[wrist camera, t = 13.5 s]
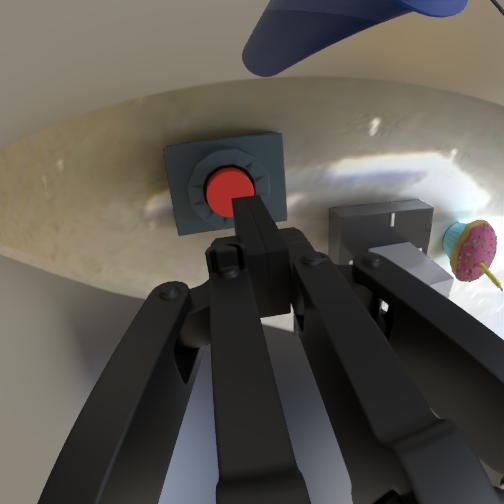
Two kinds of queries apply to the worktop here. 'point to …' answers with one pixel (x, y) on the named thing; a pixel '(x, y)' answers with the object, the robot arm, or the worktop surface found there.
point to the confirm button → (227, 189)
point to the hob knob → (417, 265)
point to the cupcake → (471, 250)
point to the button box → (218, 157)
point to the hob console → (377, 227)
